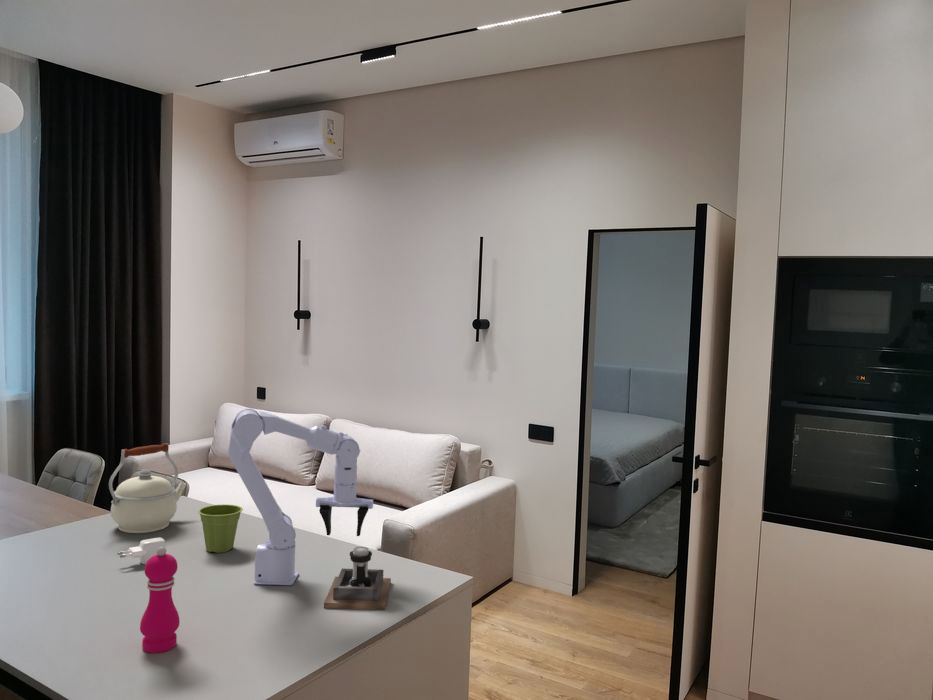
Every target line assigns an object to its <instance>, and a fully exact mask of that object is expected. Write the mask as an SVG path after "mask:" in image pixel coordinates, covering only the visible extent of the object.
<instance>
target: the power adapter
mask: <svg viewBox="0 0 933 700" xmlns="http://www.w3.org/2000/svg"><path fill="white" fill-rule="evenodd" d="M166 544H167V543H166V540H165V539H164V538H163V537H153V538H147V539H142V540H140V542H139V545H137V546H133V547H128V550H124V551H123V550H122V551H117V553H116V554H117V556H119V558H120V559H123V558H127V557H131V558H132V559H135V558H136V559H137V558H138V559H139V562H140V564H141V565H144V566H145V565H146V562H147V561H148V560H149V559H150V558H151V557H152V556H154V555H157V549H158V548H160V547H164V548H167V546H166Z"/></svg>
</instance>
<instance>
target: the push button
mask: <svg viewBox="0 0 933 700" xmlns="http://www.w3.org/2000/svg"><path fill="white" fill-rule="evenodd" d="M372 555H373V552H372V550H369V548H368V547H366V546H356V547H354V548H353V549H352V551H350V552H349V556H350V558H349V559H350V561H351V562H352V569H353V577H352V579H351V580H350V581H349V582H350V583H349V585H348V586H355V587H371V580H370V579H369V578H368V575H367V573H368V569H369V567H368V566H369V565H368V564H369V562H370V561H371V560H372Z"/></svg>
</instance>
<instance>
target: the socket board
mask: <svg viewBox="0 0 933 700" xmlns="http://www.w3.org/2000/svg"><path fill="white" fill-rule="evenodd" d="M367 575H368V578H369V579H370V580H371V587H355V586H348V585H349V583H350V582H349V581H350V580H351V579H352V577H353V568H341V570H340V571H339V574H338V576H335V577H334V579H333V581H332V584H331V586H330V588H329V591H328V593H327V594H326V597H325V599H324V602H323V608H324V609H351V610H352V609H353V610H354V609H356V610H386V605H387V603H388V602H387V601H388V597H389V592H390V587H391V584H392V583H391V581H392V579H391V577H390V578H389V577H384V569H376V568H375V569H373V568H372V569H369V568H368V573H367Z"/></svg>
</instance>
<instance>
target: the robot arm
mask: <svg viewBox="0 0 933 700" xmlns="http://www.w3.org/2000/svg"><path fill="white" fill-rule="evenodd" d="M232 421H233V422H232V423H231V429H230V436H229V440H228V441H229V443H228V449H227V450H228V451H227V453H228V457H229V459H230V462H231V463H232V465H233V466H234V468H235V471H237V473H238V475H239V478H240V479H241V480H242V483H243V484H244V486H245V488H246V490H247V492H248V493H249V495H250V497H251V498H252V500H253V503H254V505H255V506H256V508H257V510H258V511H259V513H260V515H261V517H262V519H263V522H264V525H265V527H266V529H267V532H268V536H269V537H268V539H267V541H266V542H265V543H259V544H258V545H257V547H256V549H255V557H254V559H255V560H254V580H253V584H254V585H269V586H270V585H271V586H273V585H274V586H292V585H293V584H294V583H295V581H296V579H297V578H298V577H299V574H300V573H299V571H296V567H295V566H296V535H297V534H296V529H295V528H294V525H293V520H292V518H291V517H290V516H288V514H285V513H284V512H283V510H282V508H281V506H280V505H279V504H278V502H277V501H276V498H275V497H274V495H273V493H272V491H271V489H270V488H269V485H268V484H267V482H266V481H265V479H264V477H263V475H262V473H261V471H260V469H259V468H258V466H257V464H256V462H255V460H254V458H253V456H252V455H251V453H250V452H251V449H252V447H253V444H254V442H255V441H256V440H257V439H258V438H259V436H260V435H261V434H262V432H263V435H269V434H273V433H275V432H276V433H280V434H283V435H286V436H289V437H293V438H296V439H299V440H303V441H305V443H306V445H307V446H308V448H310V449H312V450H316V451H320V452H322V453H326V454H329V455H331V456H333V455H335V463H334V475H333V476H334V479H333V496H329V497H328V496H327V497H317V498H316V499H315V507H316V508H319V509H318V510H319V514H320V516H321V518H322V520H323V522H324V527H325V531H326V536H331V534H332V511H333V510H332V508H333V507H334V508H335V507H336V508H358V510H357V511H356V513H357V527H356V537H360V536H361V532H362V527H363V523H364V521H365V517H366V516H367V513H368V511H369V509H370V510H371V509H373V508H374V499H372V498H371V499H370V498H361V497H357V483H358V477H357V476H358V465H357V463H358V457H359V456H360V452H361V449H360V445H359V443H358V441H356V440H355V439H354V438H353V437H352V436H350V435H348V434H347V433H343V432H342V431H339V432H336V431H333V430H330V429H327V426H326V425H324V424H320V426H319V425H315V426H313V427H308V426H307V427H306V426H304V425H301V424H299V423H296V422H294V421H291V420H289V419H286V418H284V417H281V416H278V415H276V414H272V413H269V412H266V411H261V410H259V411H257V410H255V409H253V408H244V409H242V410H240V411H239V412H237V414H236V416H235V418H234V419H233V420H232Z"/></svg>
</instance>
